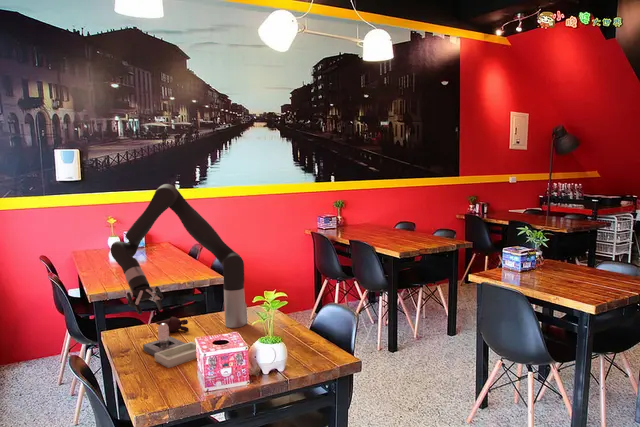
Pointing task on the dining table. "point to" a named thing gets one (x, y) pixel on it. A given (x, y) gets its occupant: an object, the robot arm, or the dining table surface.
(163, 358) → the tray
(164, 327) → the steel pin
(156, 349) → the plate
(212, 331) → the dining table surface
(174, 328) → the brown lobed piece
